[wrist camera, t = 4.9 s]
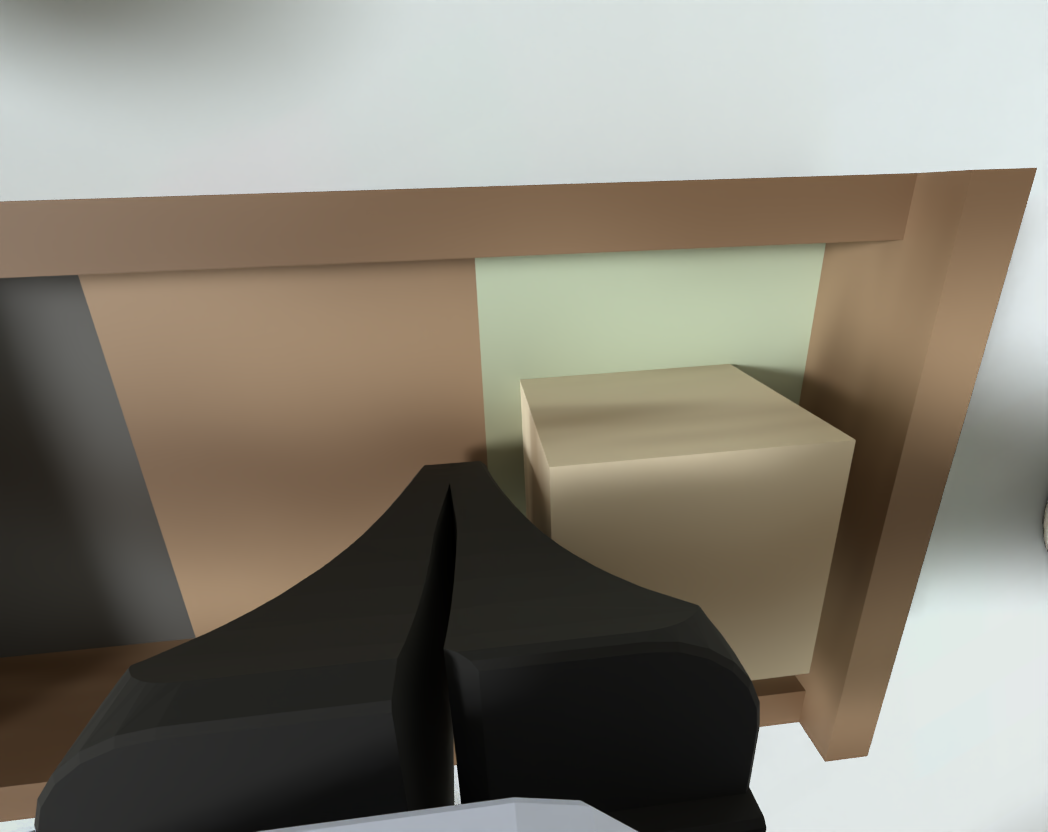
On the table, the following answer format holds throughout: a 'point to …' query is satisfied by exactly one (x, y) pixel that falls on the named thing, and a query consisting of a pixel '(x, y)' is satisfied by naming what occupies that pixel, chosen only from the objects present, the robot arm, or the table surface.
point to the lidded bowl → (1045, 526)
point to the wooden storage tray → (445, 391)
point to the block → (694, 496)
